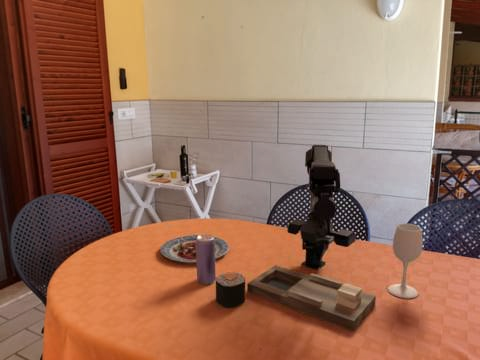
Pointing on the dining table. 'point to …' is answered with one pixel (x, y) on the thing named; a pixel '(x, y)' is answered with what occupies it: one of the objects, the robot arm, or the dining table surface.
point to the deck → (310, 296)
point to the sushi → (230, 289)
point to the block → (349, 296)
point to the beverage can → (205, 259)
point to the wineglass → (406, 256)
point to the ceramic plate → (190, 248)
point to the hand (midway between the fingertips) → (319, 260)
